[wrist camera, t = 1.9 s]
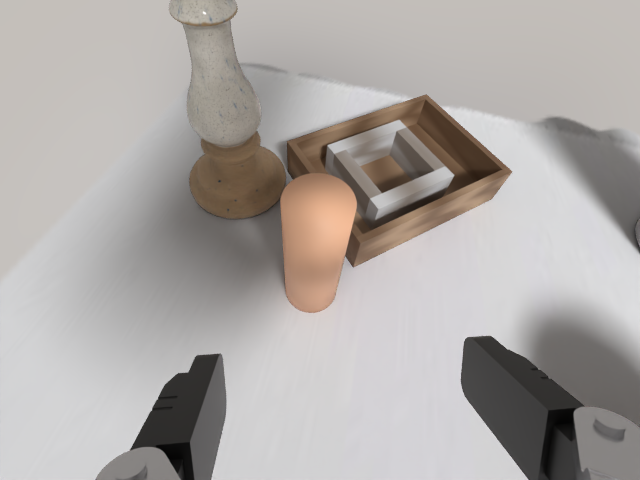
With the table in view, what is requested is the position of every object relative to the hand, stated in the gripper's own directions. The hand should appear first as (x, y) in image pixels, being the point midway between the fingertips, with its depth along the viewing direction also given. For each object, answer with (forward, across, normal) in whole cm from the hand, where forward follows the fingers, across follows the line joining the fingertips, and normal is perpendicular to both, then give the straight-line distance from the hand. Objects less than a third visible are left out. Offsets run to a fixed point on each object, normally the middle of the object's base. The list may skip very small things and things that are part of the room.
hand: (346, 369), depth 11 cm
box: (+23, -8, -4) cm, 25 cm away
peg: (+16, 0, +3) cm, 16 cm away
